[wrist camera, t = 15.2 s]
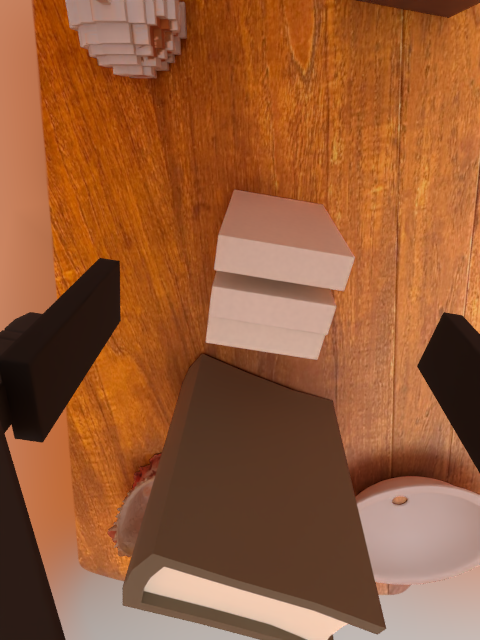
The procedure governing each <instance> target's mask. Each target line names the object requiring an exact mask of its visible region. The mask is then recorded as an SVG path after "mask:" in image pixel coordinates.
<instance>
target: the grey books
mask: <svg viewBox="0 0 480 640" xmlns="http://www.w3.org/2000/svg"><path fill="white" fill-rule="evenodd" d="M357 1H363V2H368V3H373V4H379V5H384V6H389V7H395V8H400V9H405V10H411V11H416V12H421V13H427V14H432V15H437V16H443V17H448V18H449V17H451V16H453V15H455V14H457V13H459V12H462V11H464V10H466V9H468V8H470V7H472V6H474V5H476V4H478V3H480V0H357Z"/></svg>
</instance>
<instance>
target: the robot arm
mask: <svg viewBox="0 0 480 640" xmlns="http://www.w3.org/2000/svg"><path fill="white" fill-rule="evenodd" d="M119 322H120V261H116V260H109V259H103V258H100V259H98V260H97V261H96V262H95V263H94V264H93V265H92V266H91V267H90V268H89V269H88V270H87V271H86V272H85V273H84V274H83V275H82V276H81V277H80V278H79V279H78V280H77V281H76V282H75V283H74V284H73V285H72V286H71V287H70V288H69V289H68V290H67V291H66V292H65V293H64V294H63V295H62V296H61V297H60V298H59V299H58V300H57V301H56V302H55V303H54V304H53V305H52V306H51V307H50V308H49V309H47V310H46V312H45V313H43V314H39V313H31V312H30V313H28V314H26V315H23V316H21V317H19V318H17V319H15V320H14V321H13V322H11V323H10V324H9V325H8V326H7V327H6V328H5V330H4V331H1V332H0V640H65V636H64V633H63V630H62V627H61V623H60V620H59V617H58V613H57V609H56V606H55V603H54V599H53V596H52V592H51V589H50V586H49V582H48V579H47V576H46V572H45V569H44V565H43V562H42V559H41V555H40V552H39V549H38V545H37V542H36V539H35V535H34V532H33V528H32V525H31V522H30V518H29V515H28V512H27V508H26V505H25V501H24V498H23V495H22V491H21V488H20V484H19V481H18V478H17V475H16V471H15V468H14V464H13V461H12V458H11V454H10V451H9V447H8V444H7V441H6V437H5V434H4V433H5V432H6V430H7V429H8V428H9V427H10V425H11V424H12V428H13V432H14V437H15V439H22V440H29V441H36V442H43V441H44V440H45V438H46V437H47V435H48V433H49V432H50V430H51V429H52V427H53V425H54V424H55V422H56V421H57V419H58V418H59V416H60V415H61V413H62V412H63V410H64V408H65V407H66V405H67V404H68V402H69V401H70V399H71V397H72V396H73V394H74V393H75V391H76V390H77V388H78V386H79V385H80V383H81V382H82V380H83V379H84V377H85V375H86V374H87V372H88V371H89V369H90V368H91V366H92V365H93V363H94V361H95V360H96V358H97V357H98V355H99V354H100V352H101V350H102V349H103V347H104V346H105V344H106V343H107V341H108V339H109V338H110V336H111V335H112V333H113V332H114V330H115V328H116V327H117V325H118V324H119ZM417 367H418V368H419V370H420V372H421V373H422V375H423V377H424V379H425V380H426V382H427V384H428V385H429V387H430V389H431V391H432V392H433V394H434V396H435V397H436V399H437V401H438V403H439V404H440V406H441V408H442V409H443V411H444V413H445V414H446V416H447V418H448V420H449V421H450V423H451V425H452V426H453V428H454V430H455V432H456V433H457V435H458V437H459V438H460V440H461V442H462V444H463V445H464V447H465V449H466V450H467V452H468V454H469V456H470V457H471V459H472V461H473V462H474V464H475V466H476V467H477V469H478V471H479V473H480V334H479V333H478V332H477V331H476V330H475V329H474V328H473V327H472V326H471V324H470V323H469V322H468V321H467V320H466V319H465V318H464V317H463V316H462V315H456V314H450V313H443V315H442V317H441V319H440V321H439V323H438V325H437V327H436V329H435V331H434V333H433V335H432V337H431V339H430V341H429V343H428V345H427V347H426V349H425V351H424V353H423V355H422V357H421V359H420V362H419V364H418V366H417Z"/></svg>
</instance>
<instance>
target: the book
mask: <svg viewBox="0 0 480 640" xmlns="http://www.w3.org/2000/svg"><path fill="white" fill-rule="evenodd" d="M123 605H124V606H128V607H132V608H137V609H141V610H144V611H149V612H153V613H157V614H162V615H165V616H170V617H174V618H179V619H182V620H187V621H191V622H195V623H200V624H203V625H207V626H211V627H215V628H218V629H222V630H226V631H230V632H233V633H237V634H241V635H245V636H249V637H252V638H256V639H260V640H333V634H334V633H335V632H336V631H338V630H339V629H340V628H341V627H343V626H345V625H347V624H350V625H353V626H356V627H359V628H361V629H364V630H367V631H369V632H372V633H375V634H379V633H380V632H382V631H383V630H385V629H386V626H385V622H384V617H383V613H382V609H381V604H380V601H379V596H378V592H377V587H376V583H375V579H374V575H373V570H372V566H371V562H370V558H369V553H368V549H367V545H366V541H365V536H364V532H363V528H362V524H361V519H360V515H359V511H358V507H357V502H356V498H355V494H354V490H353V485H352V481H351V477H350V473H349V468H348V464H347V460H346V456H345V451H344V447H343V443H342V439H341V434H340V430H339V426H338V422H337V417H336V413H335V409H334V405H333V401H331V400H328V399H324V398H320V397H316V396H313V395H309V394H305V393H301V392H297V391H294V390H291V389H288V388H286V387H283V386H280V385H278V384H275V383H273V382H270V381H267V380H265V379H262V378H259V377H257V376H254V375H252V374H249V373H246V372H244V371H242V370H239V369H237V368H235V367H232V366H230V365H228V364H225V363H223V362H221V361H218V360H216V359H214V358H211V357H209V356H207V355H204V354H201V356H200V357H199V358H198V359H197V360H196V361H195V362H194V363H193V364H192V366H191V367H190V368H189V370H188V372H187V374H186V377H185V379H184V381H183V383H182V386H181V390H180V393H179V397H178V400H177V403H176V407H175V410H174V414H173V417H172V421H171V424H170V427H169V431H168V434H167V438H166V441H165V444H164V448H163V451H162V455H161V458H160V462H159V465H158V468H157V472H156V475H155V479H154V482H153V485H152V489H151V492H150V496H149V499H148V503H147V506H146V509H145V513H144V516H143V520H142V523H141V526H140V530H139V533H138V537H137V540H136V544H135V547H134V550H133V554H132V557H131V561H130V564H129V567H128V571H127V574H126V578H125V581H124V585H123Z"/></svg>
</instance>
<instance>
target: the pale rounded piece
mask: <svg viewBox="0 0 480 640" xmlns="http://www.w3.org/2000/svg"><path fill="white" fill-rule="evenodd" d="M65 1H66V7H67V13H68V19H69V25H70V28H71V29H73V30H76V31H78V34H79V40H80V46H81V47H82V48H85V49H88V51H89V56H90V57H94V58H97V62H98V65H99V66H103V67H107V68H113V73H114V74H115V75H120V76H129V78H157V75H156V71H169V63H175V55H181V43H180V39H187V28H186V7H185V3H184V2H179V0H65Z"/></svg>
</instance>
